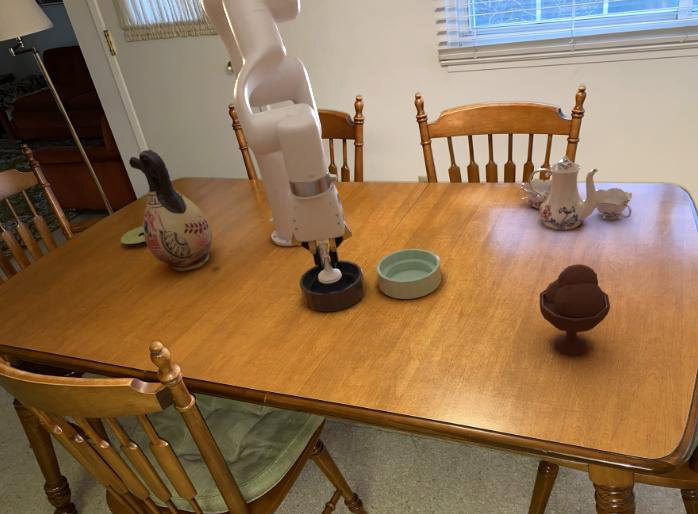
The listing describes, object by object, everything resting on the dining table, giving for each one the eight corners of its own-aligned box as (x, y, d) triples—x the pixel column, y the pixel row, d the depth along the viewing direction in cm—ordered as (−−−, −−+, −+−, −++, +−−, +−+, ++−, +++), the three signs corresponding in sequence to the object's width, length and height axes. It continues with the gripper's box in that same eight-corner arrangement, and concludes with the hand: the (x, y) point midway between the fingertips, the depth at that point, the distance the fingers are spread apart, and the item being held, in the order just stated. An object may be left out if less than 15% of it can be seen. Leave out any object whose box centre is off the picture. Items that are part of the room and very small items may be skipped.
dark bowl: (291, 300, 118) (286, 282, 115) (336, 272, 125) (332, 254, 123) (333, 320, 110) (328, 301, 107) (378, 288, 117) (375, 270, 115)
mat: (131, 253, 148) (128, 247, 147) (117, 242, 156) (114, 236, 154) (170, 237, 154) (168, 230, 152) (155, 226, 161) (152, 220, 160)
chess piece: (338, 283, 113) (329, 241, 108) (315, 283, 114) (305, 241, 109) (344, 270, 117) (336, 229, 111) (322, 270, 118) (313, 229, 113)
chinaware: (636, 215, 131) (647, 145, 123) (620, 241, 119) (630, 165, 111) (522, 202, 145) (525, 138, 137) (498, 224, 133) (499, 155, 125)
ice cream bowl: (528, 332, 98) (529, 259, 90) (590, 322, 98) (597, 249, 90) (548, 371, 89) (552, 295, 81) (616, 360, 89) (626, 282, 81)
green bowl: (366, 288, 118) (363, 270, 115) (407, 260, 125) (404, 243, 123) (413, 307, 110) (411, 288, 107) (453, 276, 117) (452, 258, 114)
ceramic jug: (147, 268, 139) (97, 154, 123) (199, 242, 148) (159, 132, 131) (181, 287, 129) (131, 165, 112) (235, 258, 138) (196, 140, 121)
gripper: (352, 170, 106) (365, 252, 117) (270, 181, 107) (291, 261, 118) (351, 186, 100) (366, 271, 111) (265, 197, 101) (288, 281, 112)
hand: (327, 265), depth 114 cm, fingers closed on chess piece
